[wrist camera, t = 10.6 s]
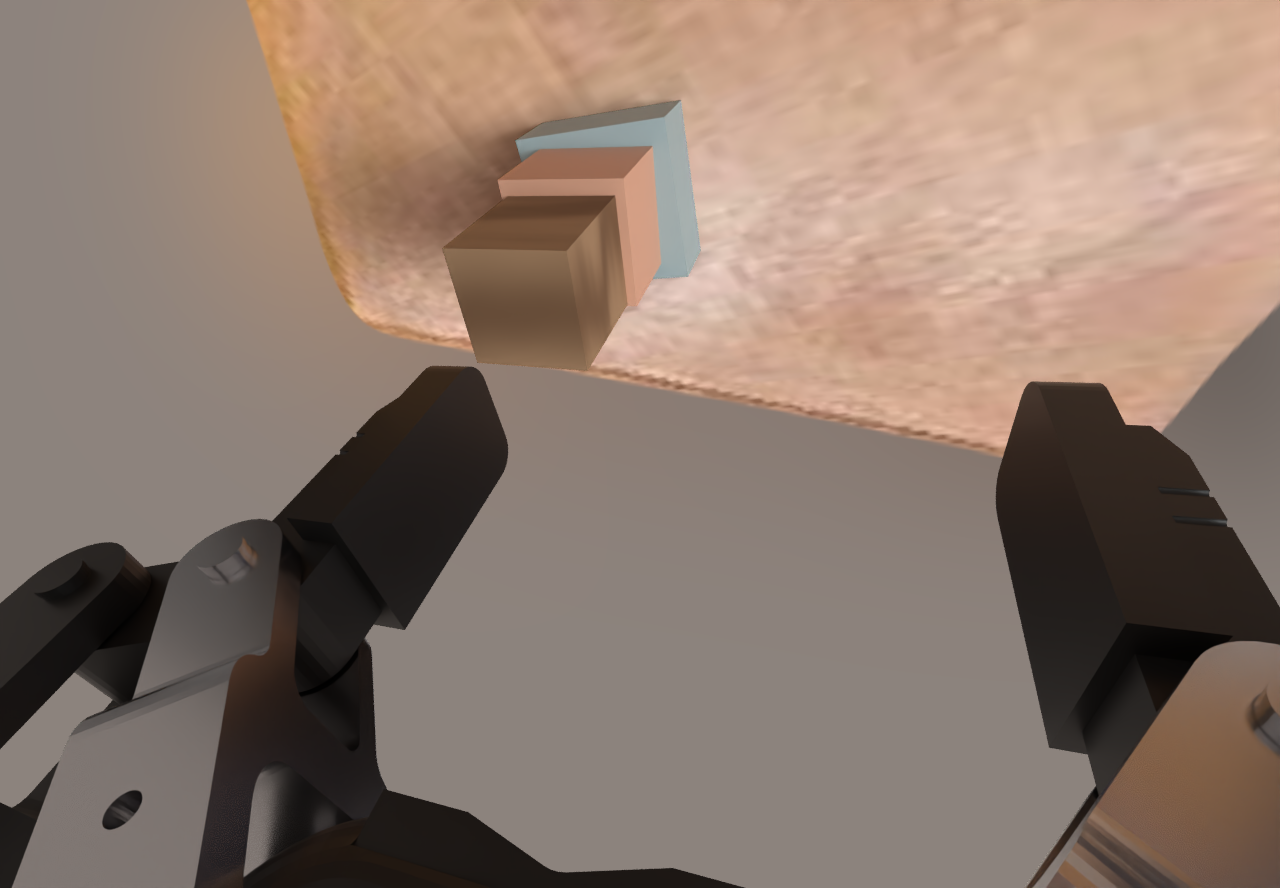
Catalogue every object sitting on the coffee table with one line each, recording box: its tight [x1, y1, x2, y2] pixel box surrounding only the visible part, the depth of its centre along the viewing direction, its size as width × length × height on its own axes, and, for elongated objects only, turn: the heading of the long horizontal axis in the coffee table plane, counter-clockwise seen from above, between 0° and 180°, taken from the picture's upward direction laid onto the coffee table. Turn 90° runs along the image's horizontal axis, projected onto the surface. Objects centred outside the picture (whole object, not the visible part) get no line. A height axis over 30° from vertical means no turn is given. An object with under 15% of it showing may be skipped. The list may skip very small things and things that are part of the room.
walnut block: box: [442, 195, 628, 371], centre depth 27 cm, size 5×5×6 cm
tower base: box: [515, 100, 701, 279], centre depth 34 cm, size 8×8×4 cm
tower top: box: [498, 146, 661, 306], centre depth 30 cm, size 6×6×5 cm
